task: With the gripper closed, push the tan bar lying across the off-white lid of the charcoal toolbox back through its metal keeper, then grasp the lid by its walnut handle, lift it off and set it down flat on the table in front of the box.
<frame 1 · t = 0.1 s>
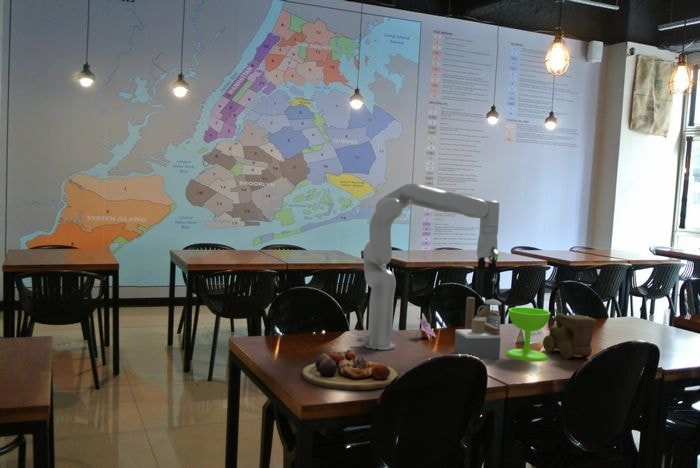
hand: (486, 271, 264), 31 cm above the table, tool pointing down, fingers open, 9 cm apart
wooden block: (475, 338, 279), on the table
french press: (489, 332, 293), on the table
wooden plate with food: (350, 378, 211), on the table
toolbox: (476, 355, 248), on the table
lid: (477, 337, 248), point 7 cm above the table, touching toolbox
wooden toy train: (566, 355, 254), on the table
tan bar: (488, 327, 250), point 11 cm above the table, slide at 0.0 cm
wineglass: (526, 356, 250), on the table
lily: (424, 338, 276), on the table
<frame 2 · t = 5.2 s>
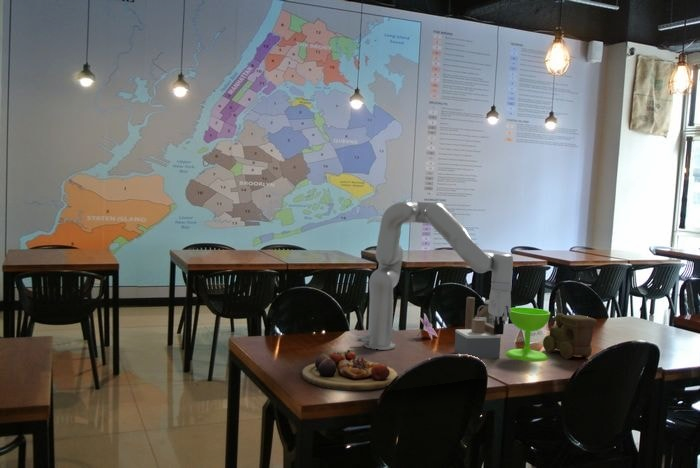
hand: (498, 333, 241), 10 cm above the table, tool pointing down, fingers closed
tan bar: (487, 327, 251), point 11 cm above the table, slide at 0.9 cm, touching gripper
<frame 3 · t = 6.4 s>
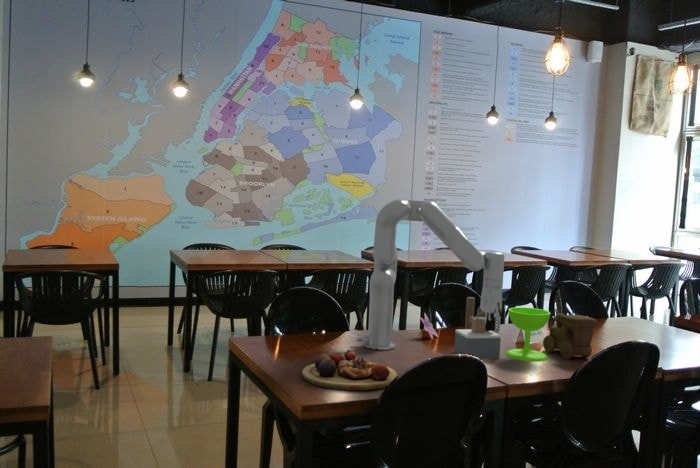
hand: (490, 329, 248), 10 cm above the table, tool pointing down, fingers closed
tan bar: (479, 323, 258), point 11 cm above the table, slide at 7.9 cm, touching gripper
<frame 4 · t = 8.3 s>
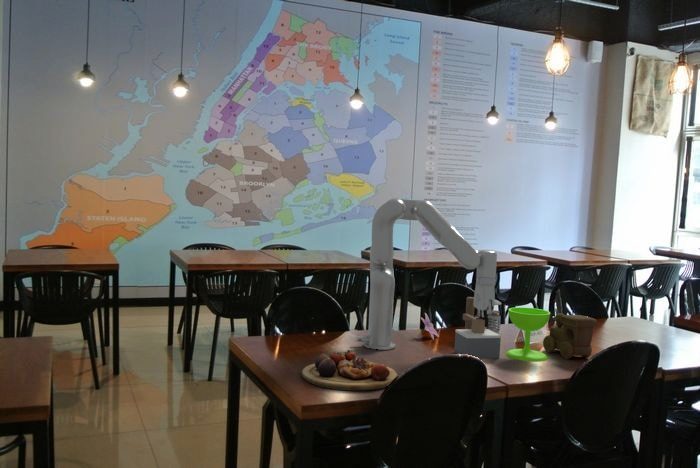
hand: (483, 326, 254), 10 cm above the table, tool pointing down, fingers closed
tan bar: (472, 320, 264), point 11 cm above the table, slide at 14.1 cm
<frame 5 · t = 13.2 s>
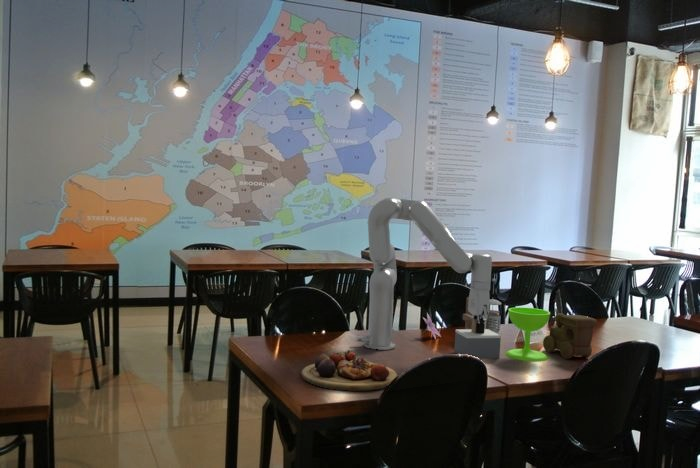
hand: (477, 331, 247), 9 cm above the table, tool pointing down, fingers closed on lid, 3 cm apart
lid: (477, 337, 248), point 7 cm above the table, touching gripper, toolbox
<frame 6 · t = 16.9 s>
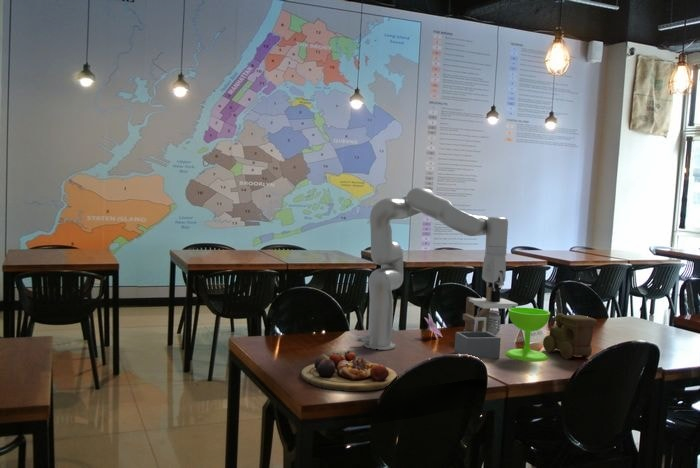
hand: (492, 300, 232), 24 cm above the table, tool pointing down, fingers closed on lid, 3 cm apart
lid: (492, 306, 232), point 22 cm above the table, touching gripper
when the fingers open (4 cm above the table, at t = 20.8 s): lid drops 2 cm, on the table.
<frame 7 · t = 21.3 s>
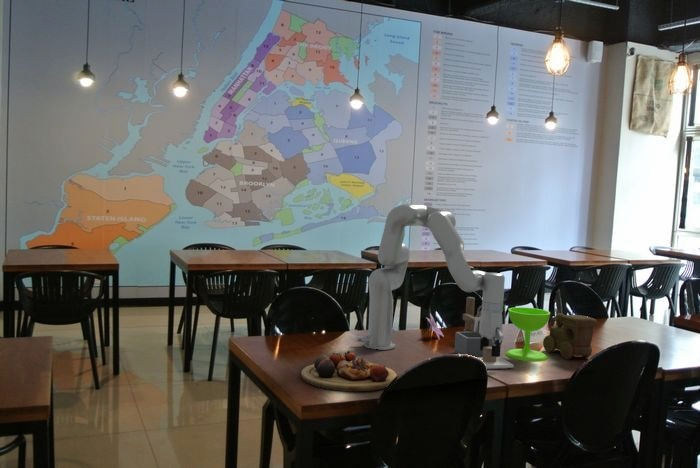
hand: (489, 353, 233), 5 cm above the table, tool pointing down, fingers open, 8 cm apart
lid: (488, 366, 233), on the table
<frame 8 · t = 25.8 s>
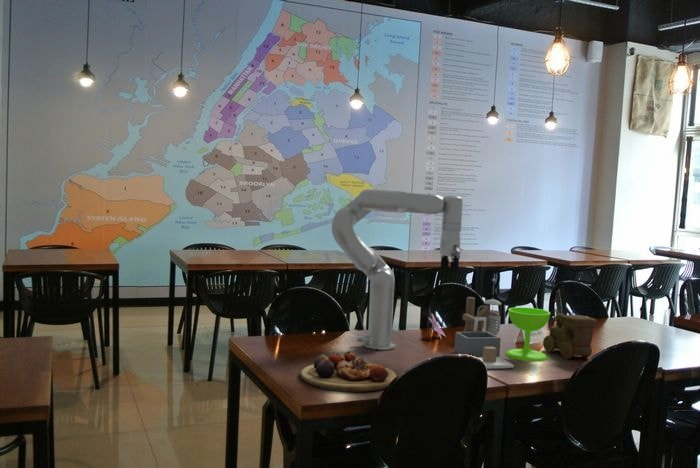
hand: (449, 270, 251), 32 cm above the table, tool pointing down, fingers open, 9 cm apart
at the end: tan bar slide at 14.1 cm; lid inside the target area (0.1 cm from its centre), on the table; lid tilted 0° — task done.
